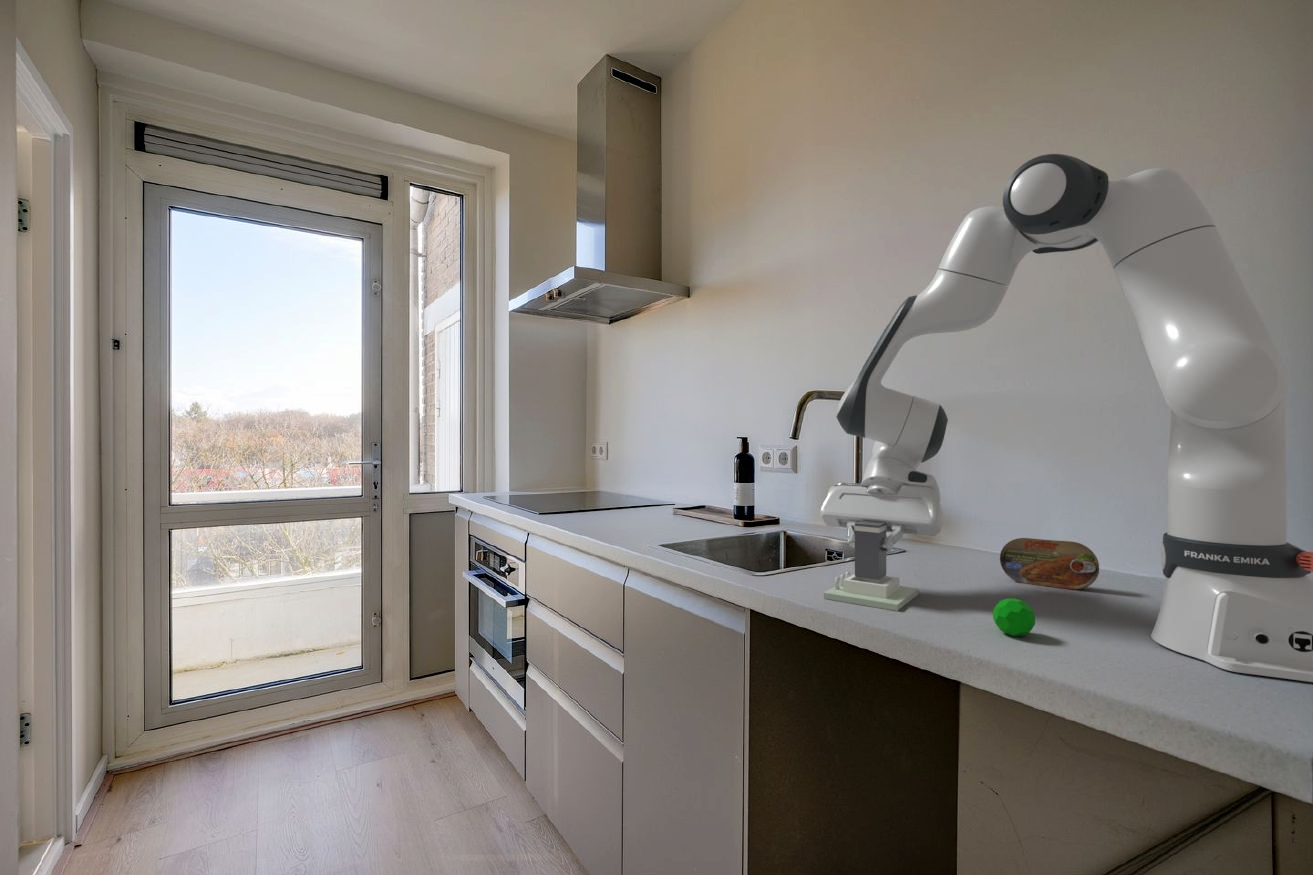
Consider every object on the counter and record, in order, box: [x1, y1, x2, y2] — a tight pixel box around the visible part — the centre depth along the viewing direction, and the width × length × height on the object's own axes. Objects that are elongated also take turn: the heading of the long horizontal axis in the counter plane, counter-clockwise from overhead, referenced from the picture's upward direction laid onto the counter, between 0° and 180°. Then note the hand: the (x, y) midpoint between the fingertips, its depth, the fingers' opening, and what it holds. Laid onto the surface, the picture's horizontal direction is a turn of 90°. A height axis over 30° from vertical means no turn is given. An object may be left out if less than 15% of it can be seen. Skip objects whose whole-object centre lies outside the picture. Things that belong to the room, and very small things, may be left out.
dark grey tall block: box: [854, 521, 887, 580], centre depth 103 cm, size 4×4×9 cm
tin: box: [999, 537, 1100, 591], centre depth 109 cm, size 15×3×8 cm, turn 51°
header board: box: [823, 571, 919, 612], centre depth 103 cm, size 12×12×3 cm
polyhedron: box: [992, 598, 1036, 637], centre depth 83 cm, size 5×5×5 cm
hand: (869, 547), depth 102 cm, fingers closed on dark grey tall block, 4 cm apart
